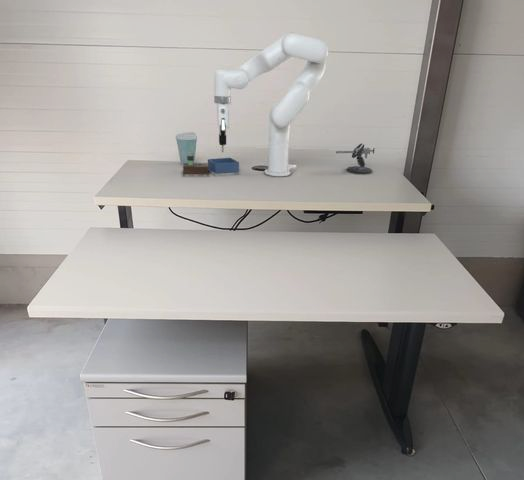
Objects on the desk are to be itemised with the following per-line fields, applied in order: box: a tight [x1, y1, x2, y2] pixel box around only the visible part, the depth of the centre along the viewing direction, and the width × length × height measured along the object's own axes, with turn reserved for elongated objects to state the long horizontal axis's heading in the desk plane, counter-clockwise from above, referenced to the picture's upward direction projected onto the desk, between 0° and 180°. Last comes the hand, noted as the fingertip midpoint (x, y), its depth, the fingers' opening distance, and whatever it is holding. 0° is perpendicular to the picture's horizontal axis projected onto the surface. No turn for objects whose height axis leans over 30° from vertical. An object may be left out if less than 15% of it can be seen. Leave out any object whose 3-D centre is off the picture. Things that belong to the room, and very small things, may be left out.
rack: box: [182, 162, 209, 175], centre depth 236 cm, size 7×11×4 cm, turn 96°
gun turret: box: [335, 143, 376, 175], centre depth 250 cm, size 13×20×13 cm, turn 102°
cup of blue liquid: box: [175, 131, 198, 165], centre depth 249 cm, size 11×11×15 cm
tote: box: [207, 157, 240, 175], centre depth 241 cm, size 12×10×6 cm
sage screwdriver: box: [187, 152, 194, 165], centre depth 234 cm, size 3×3×9 cm
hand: (222, 143), depth 235 cm, fingers closed on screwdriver, 3 cm apart
